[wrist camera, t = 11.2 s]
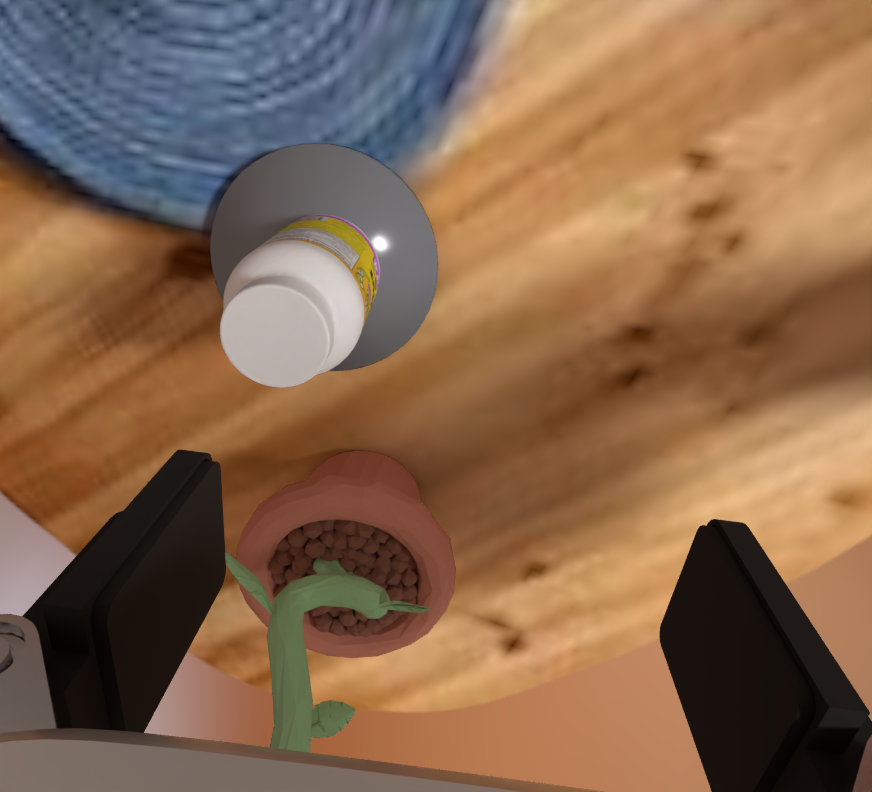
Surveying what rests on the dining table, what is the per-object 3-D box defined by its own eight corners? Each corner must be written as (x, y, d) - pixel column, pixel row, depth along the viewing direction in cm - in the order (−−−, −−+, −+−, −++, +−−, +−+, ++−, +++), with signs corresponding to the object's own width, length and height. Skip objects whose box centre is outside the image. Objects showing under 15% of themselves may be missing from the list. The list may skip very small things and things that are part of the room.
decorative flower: (225, 498, 45) (-102, 1071, 18) (325, 368, 40) (78, 889, 13) (383, 591, 49) (304, 1179, 22) (492, 483, 44) (560, 1068, 17)
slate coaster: (451, 160, 34) (451, 161, 34) (424, 377, 41) (424, 382, 40) (210, 127, 34) (204, 128, 33) (219, 353, 40) (215, 357, 39)
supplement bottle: (349, 337, 39) (307, 435, 27) (256, 283, 37) (170, 362, 26) (402, 250, 36) (380, 316, 24) (305, 188, 35) (233, 228, 23)
